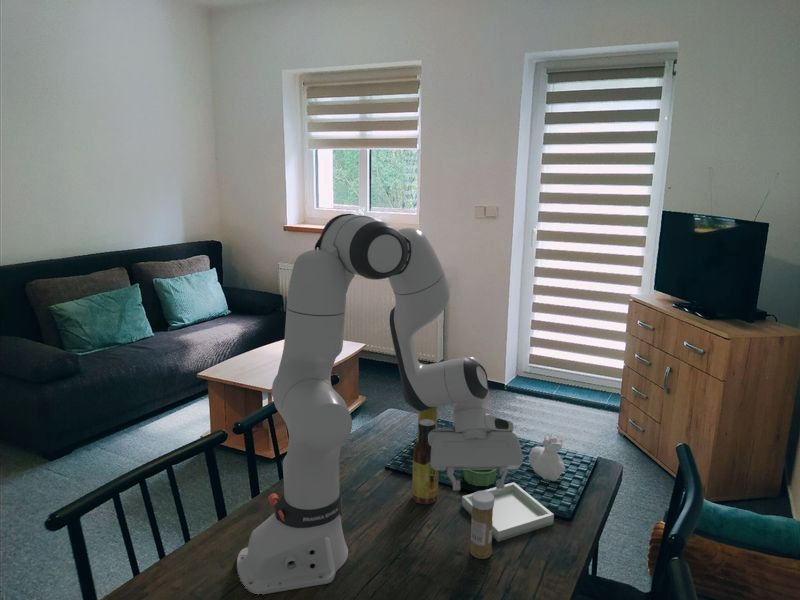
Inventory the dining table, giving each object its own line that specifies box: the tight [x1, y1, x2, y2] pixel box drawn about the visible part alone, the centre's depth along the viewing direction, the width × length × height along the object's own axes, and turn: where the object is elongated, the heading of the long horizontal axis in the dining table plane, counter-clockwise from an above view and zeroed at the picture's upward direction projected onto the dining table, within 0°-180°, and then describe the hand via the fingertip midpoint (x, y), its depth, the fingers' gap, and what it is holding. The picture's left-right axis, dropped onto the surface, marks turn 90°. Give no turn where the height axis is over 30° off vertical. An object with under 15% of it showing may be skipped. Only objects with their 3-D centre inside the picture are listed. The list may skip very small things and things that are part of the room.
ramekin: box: [463, 469, 498, 487], centre depth 153 cm, size 9×9×4 cm
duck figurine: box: [528, 435, 566, 482], centre depth 156 cm, size 12×8×11 cm
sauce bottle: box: [411, 419, 440, 505], centre depth 143 cm, size 7×6×20 cm
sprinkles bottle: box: [469, 490, 494, 560], centre depth 124 cm, size 5×5×13 cm
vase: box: [416, 407, 438, 443], centre depth 171 cm, size 6×6×14 cm
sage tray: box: [461, 481, 555, 542], centre depth 138 cm, size 15×15×2 cm
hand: (478, 489), depth 128 cm, fingers open, 8 cm apart
